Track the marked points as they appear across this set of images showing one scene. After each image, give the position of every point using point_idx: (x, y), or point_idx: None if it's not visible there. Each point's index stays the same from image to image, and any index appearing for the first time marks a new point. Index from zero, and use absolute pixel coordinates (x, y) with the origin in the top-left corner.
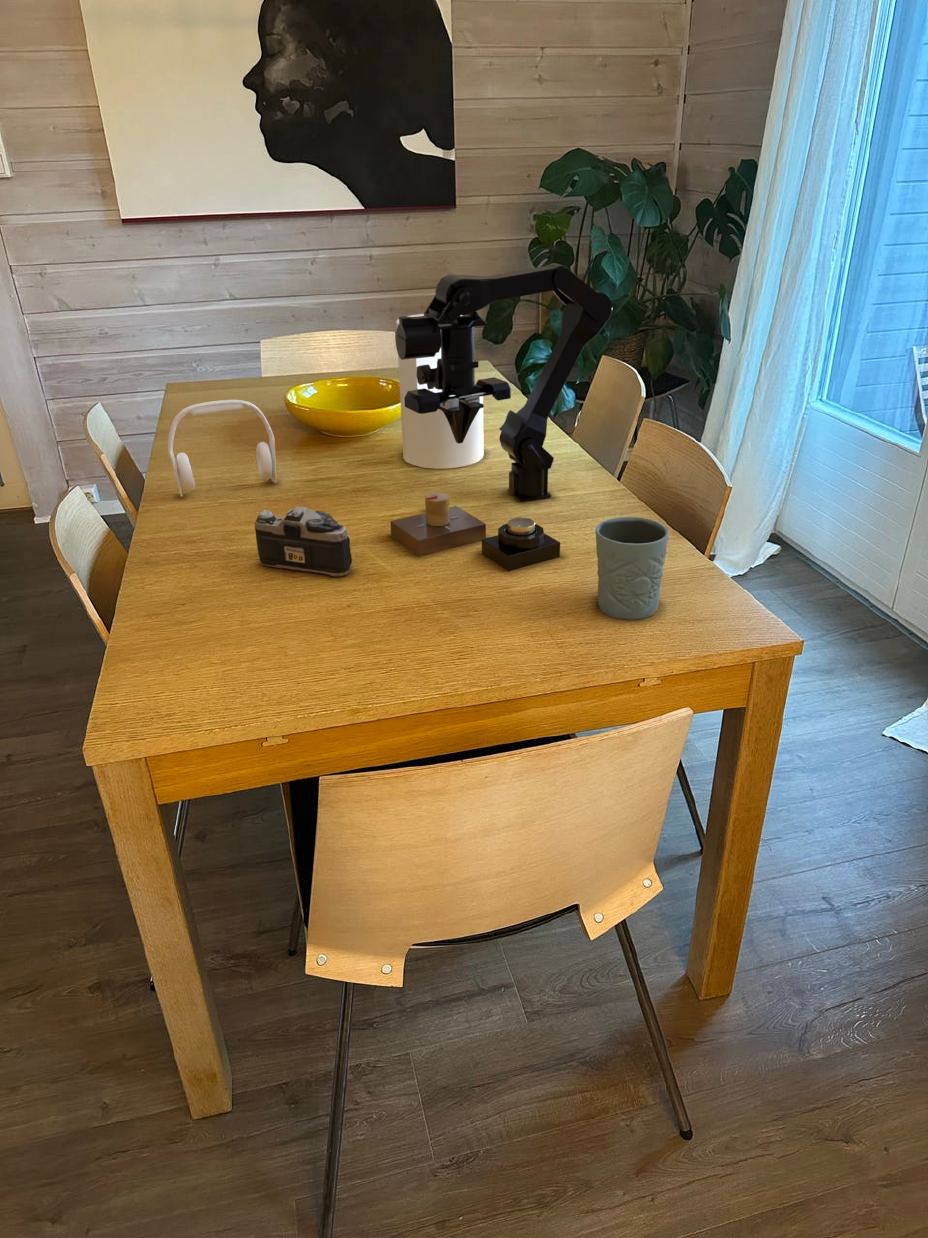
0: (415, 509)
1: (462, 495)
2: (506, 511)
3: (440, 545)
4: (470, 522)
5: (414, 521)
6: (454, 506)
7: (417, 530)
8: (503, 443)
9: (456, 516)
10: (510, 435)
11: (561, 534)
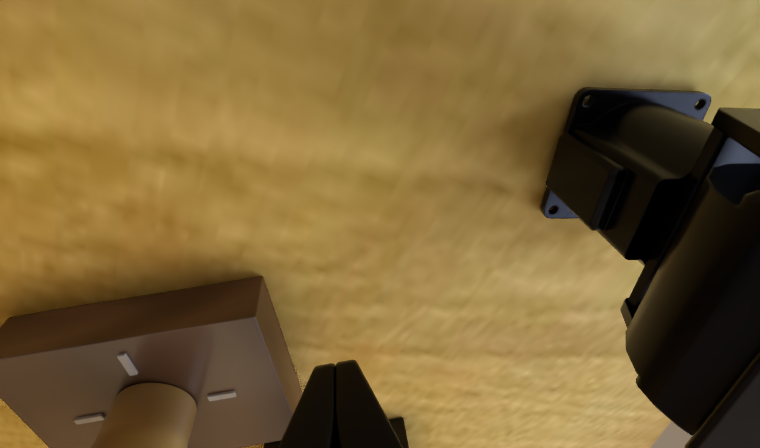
0: (120, 113)
1: (386, 35)
2: (452, 256)
3: None
4: (260, 424)
5: (70, 386)
6: (247, 322)
7: (79, 435)
8: (702, 264)
9: (230, 386)
10: (718, 426)
11: (483, 404)
